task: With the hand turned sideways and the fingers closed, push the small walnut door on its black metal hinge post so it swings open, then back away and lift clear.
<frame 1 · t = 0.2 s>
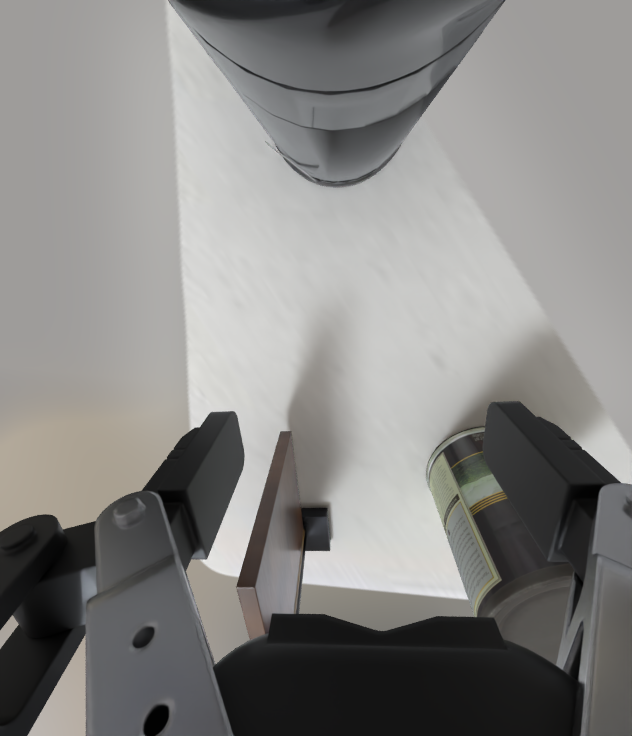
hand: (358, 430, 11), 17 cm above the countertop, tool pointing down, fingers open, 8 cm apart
coffee can: (478, 469, 32), on the countertop
door: (282, 552, 26), point 9 cm above the countertop, hinge at 0.0°
hinge post: (300, 518, 36), on the countertop
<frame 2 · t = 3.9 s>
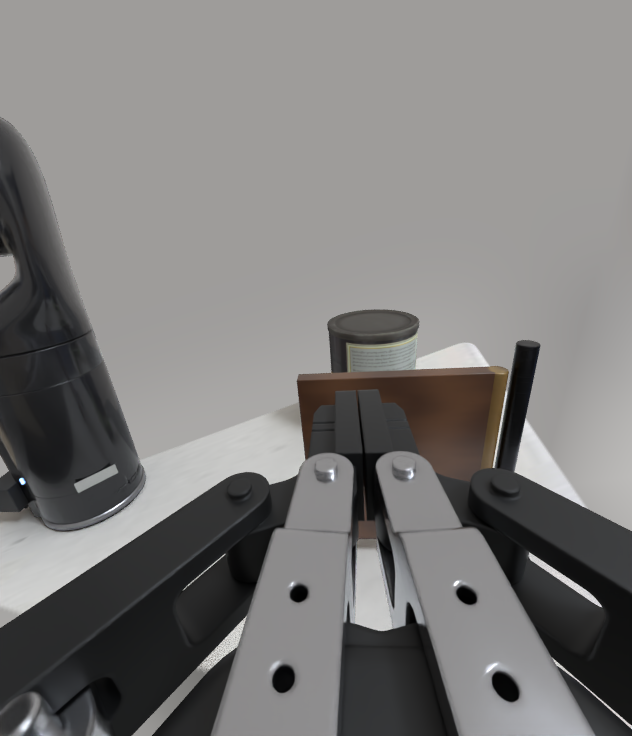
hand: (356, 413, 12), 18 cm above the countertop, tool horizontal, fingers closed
coffee can: (373, 425, 43), on the countertop
door: (397, 463, 23), point 9 cm above the countertop, hinge at 0.0°
hinge post: (469, 548, 26), on the countertop
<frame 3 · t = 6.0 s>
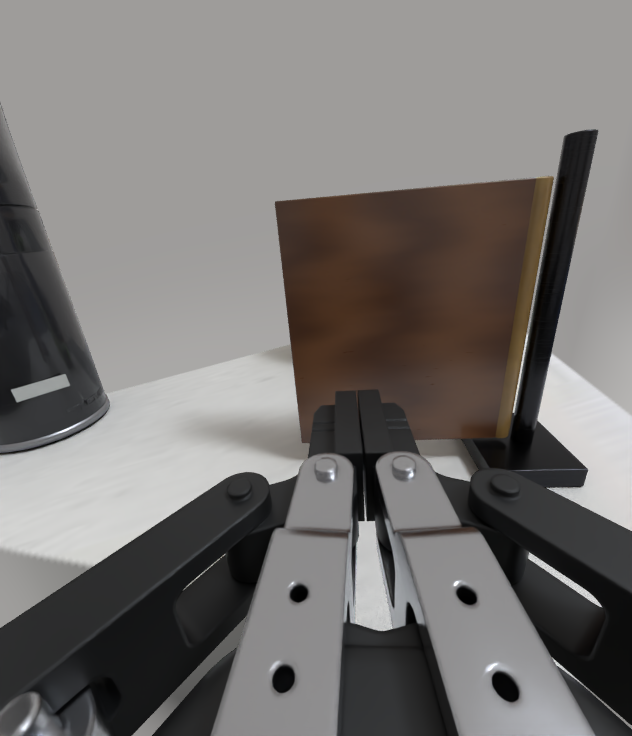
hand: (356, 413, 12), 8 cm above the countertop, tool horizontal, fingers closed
door: (405, 331, 18), point 9 cm above the countertop, hinge at 0.0°
hinge post: (494, 454, 21), on the countertop
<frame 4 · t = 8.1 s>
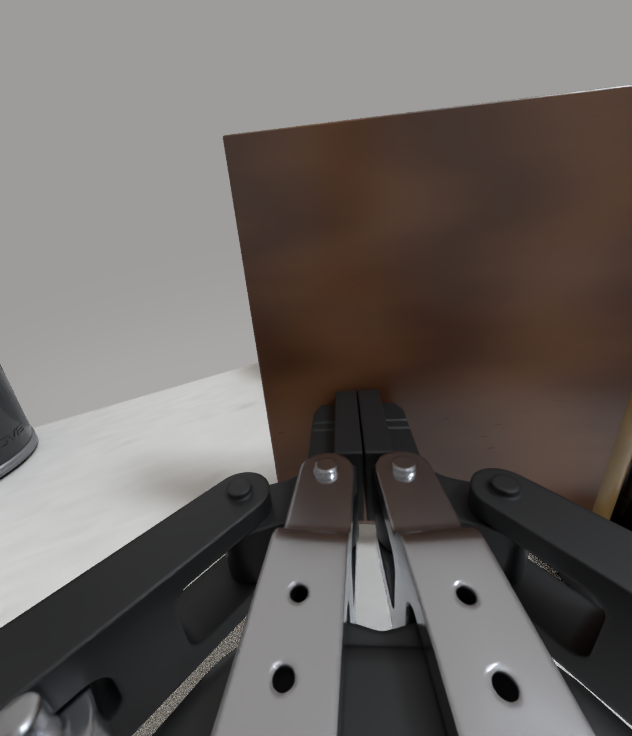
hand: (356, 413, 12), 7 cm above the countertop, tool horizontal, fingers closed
door: (449, 362, 11), point 9 cm above the countertop, hinge at 2.3°, touching gripper
hinge post: (578, 546, 14), on the countertop
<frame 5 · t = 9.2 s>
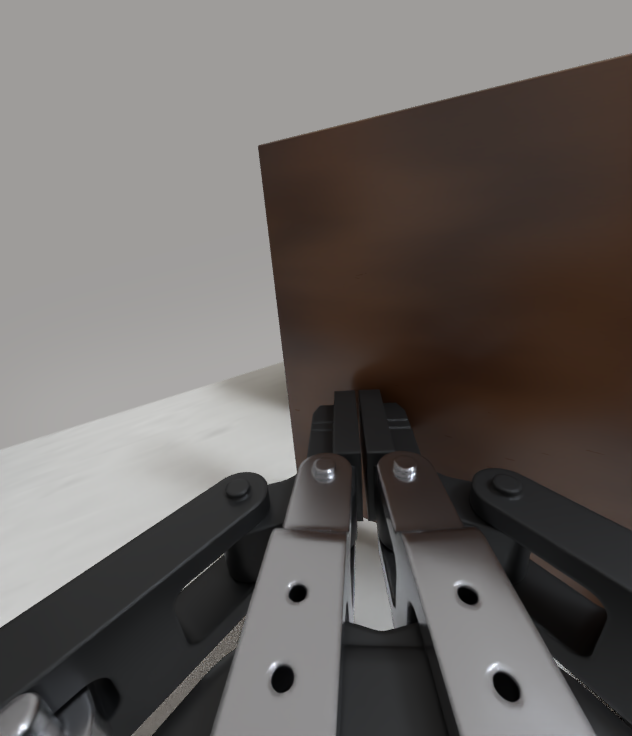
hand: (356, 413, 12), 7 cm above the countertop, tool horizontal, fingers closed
door: (460, 377, 10), point 9 cm above the countertop, hinge at 29.7°, touching gripper
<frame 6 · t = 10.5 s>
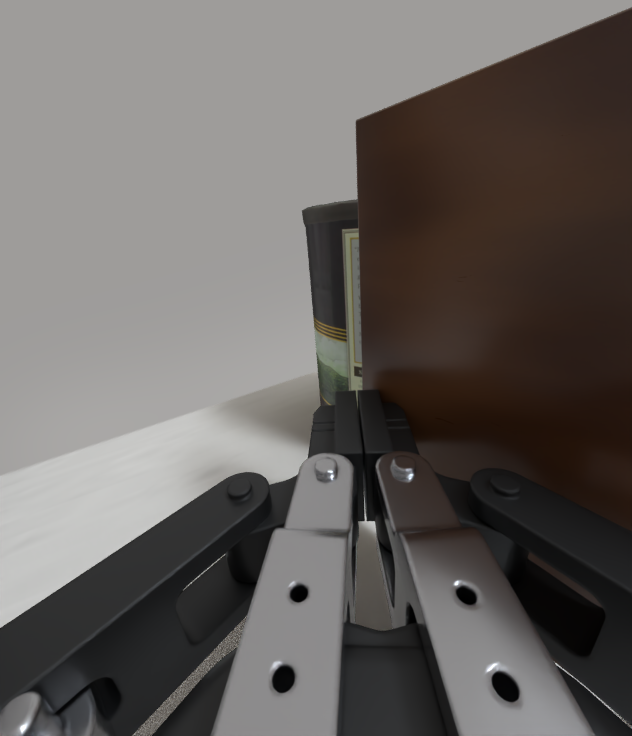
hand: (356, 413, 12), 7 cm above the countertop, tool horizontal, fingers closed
coffee can: (393, 426, 23), on the countertop
door: (600, 432, 7), point 9 cm above the countertop, hinge at 47.3°, touching gripper
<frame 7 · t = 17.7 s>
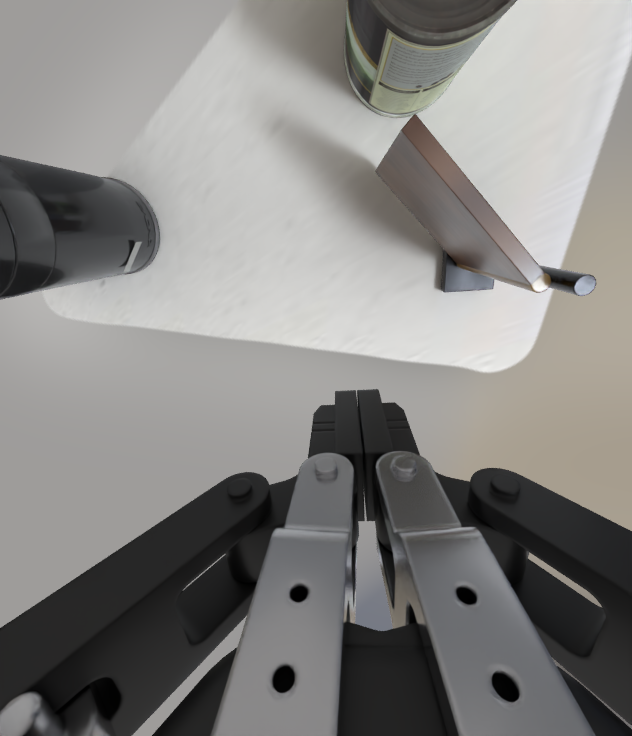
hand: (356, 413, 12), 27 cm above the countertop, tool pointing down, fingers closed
coffee can: (402, 48, 28), on the countertop
door: (446, 216, 25), point 9 cm above the countertop, hinge at 47.3°
hinge post: (457, 260, 35), on the countertop
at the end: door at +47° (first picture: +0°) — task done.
